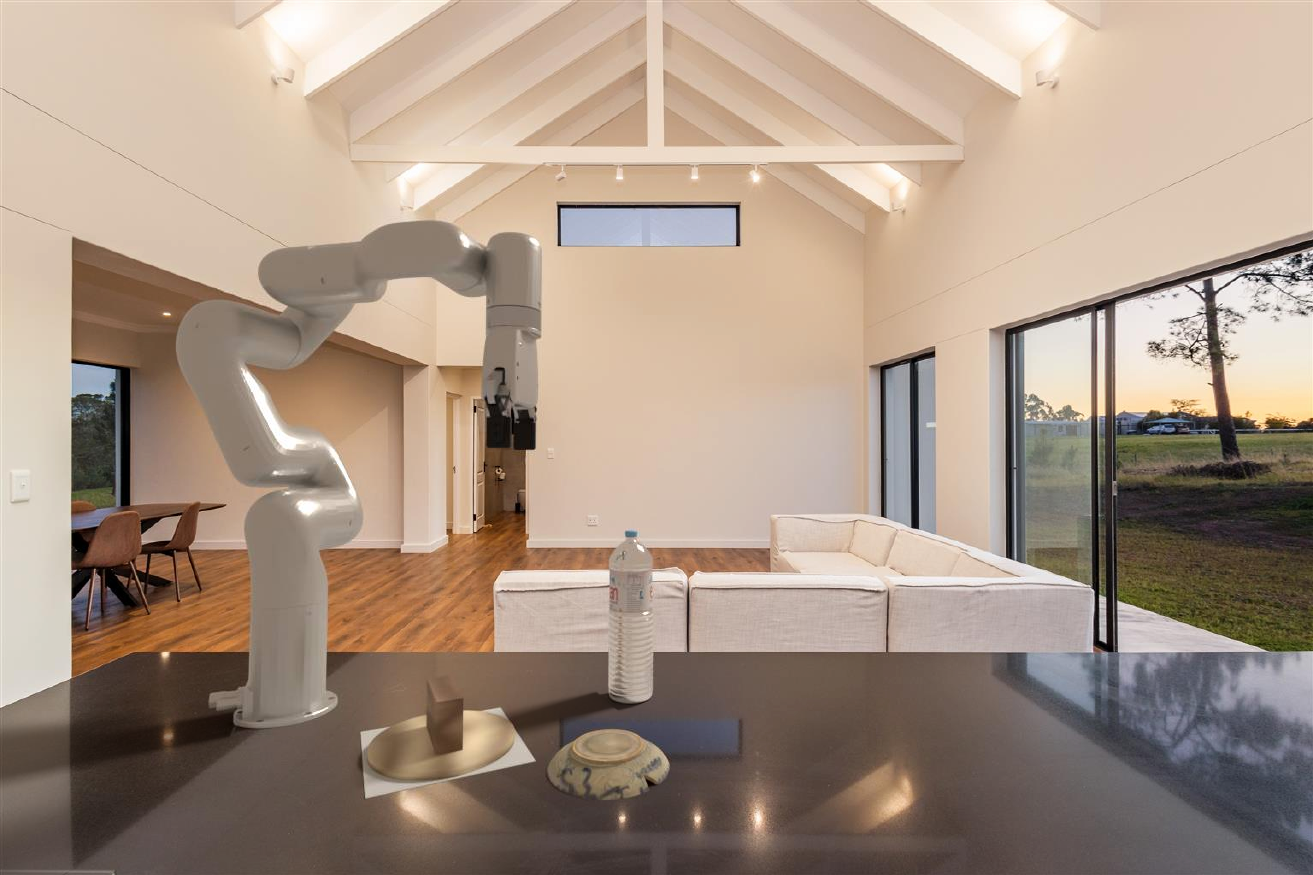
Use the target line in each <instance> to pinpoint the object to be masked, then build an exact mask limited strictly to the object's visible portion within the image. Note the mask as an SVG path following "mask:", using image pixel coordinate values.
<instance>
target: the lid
mask: <svg viewBox="0 0 1313 875" xmlns="http://www.w3.org/2000/svg"><path fill="white" fill-rule="evenodd" d="M482 711H483V710H470V709H469V710H464V696H463V694H462V692H461V690H460V688H459V687H458V685H457V682H456V681H455V679H454V677H453V675H452V674H449V675H444V676H443V675H442V676H437V677H435V676H434V677H429V678H426V714H424V715H419V716H416V717H412V718H408V719H406V720H403V721H400V722H398V723H395V724H393V725H392V726H388V727H389V728H387V729H386V730H384V731H382V732H381V733H380V734H378V735H377V736H376V737H375V738H374V739H373V740H372V741H371V742H370V744H369V746H368V753H367V761H368V765H369V766H370V768H371V769H373V770H374V771H375V772H377V773H379V774H380V775H383V776H386V777H390V778H394V779H400V780H412V781H423V780H436V779H444V778H449V777H454V776H459V775H463V774H466V773H470V772H473V771H476V770H478V769H481V768H483V767H486V766H488V765H490V764H492V763H494V762H495V761H497V760H499V759H500V758H502V757H503V756H504V755H505V754H506V753H507V752H509V750H510V749H511V748H512V746H513V744H514V740H515V730H516V729H515V726H514V724H513V723H512V722H511V721H510V719H508V720H507V719H506V718H504V717H502V716H499V715H497V714H493V713H488V712H482ZM514 729H515V730H514Z"/></svg>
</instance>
